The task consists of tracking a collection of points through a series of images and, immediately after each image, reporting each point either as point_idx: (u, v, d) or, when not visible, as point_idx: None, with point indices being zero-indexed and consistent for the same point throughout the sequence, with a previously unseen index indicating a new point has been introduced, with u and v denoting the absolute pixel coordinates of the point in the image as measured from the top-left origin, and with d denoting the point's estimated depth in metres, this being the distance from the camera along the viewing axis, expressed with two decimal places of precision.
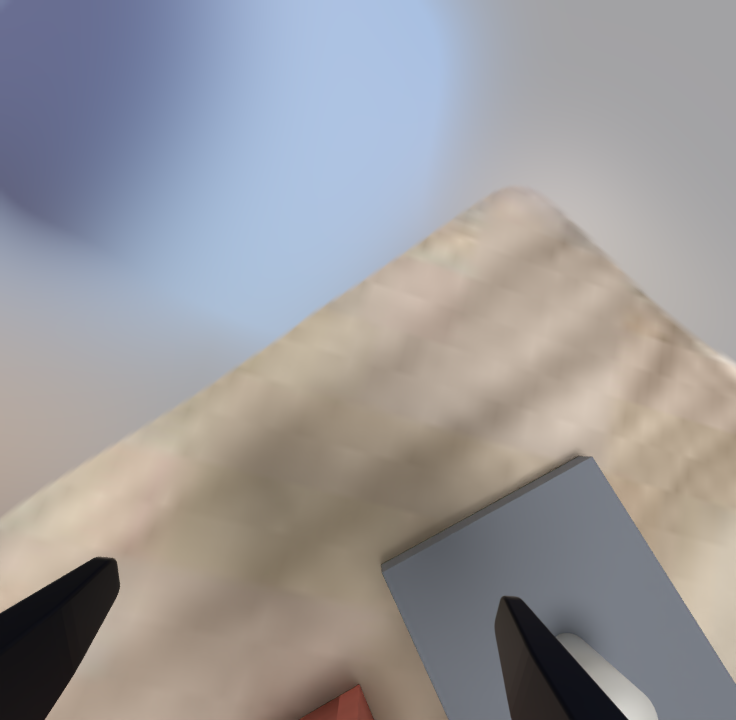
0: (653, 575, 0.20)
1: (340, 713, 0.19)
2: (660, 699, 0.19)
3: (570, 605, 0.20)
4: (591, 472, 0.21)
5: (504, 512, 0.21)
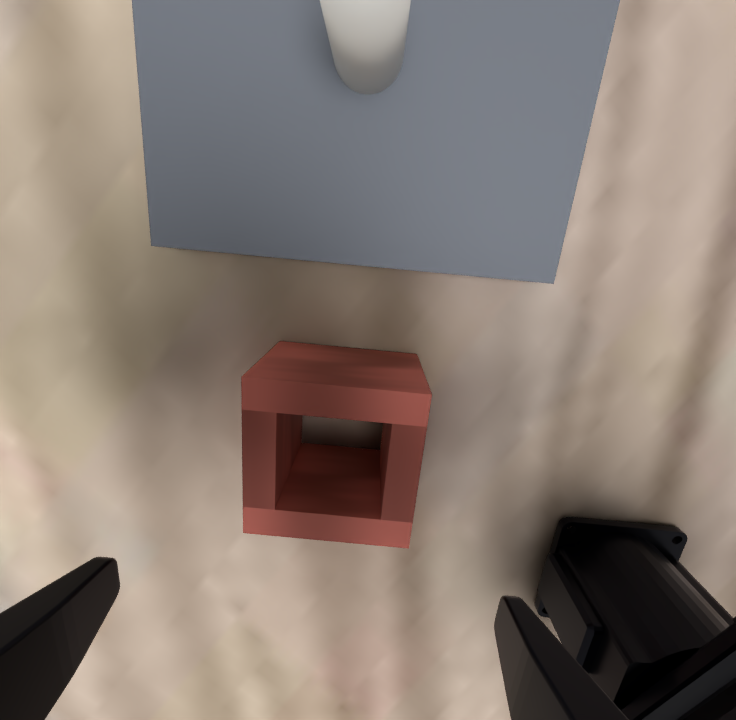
0: None
1: None
2: None
3: None
4: None
5: (142, 6, 0.12)
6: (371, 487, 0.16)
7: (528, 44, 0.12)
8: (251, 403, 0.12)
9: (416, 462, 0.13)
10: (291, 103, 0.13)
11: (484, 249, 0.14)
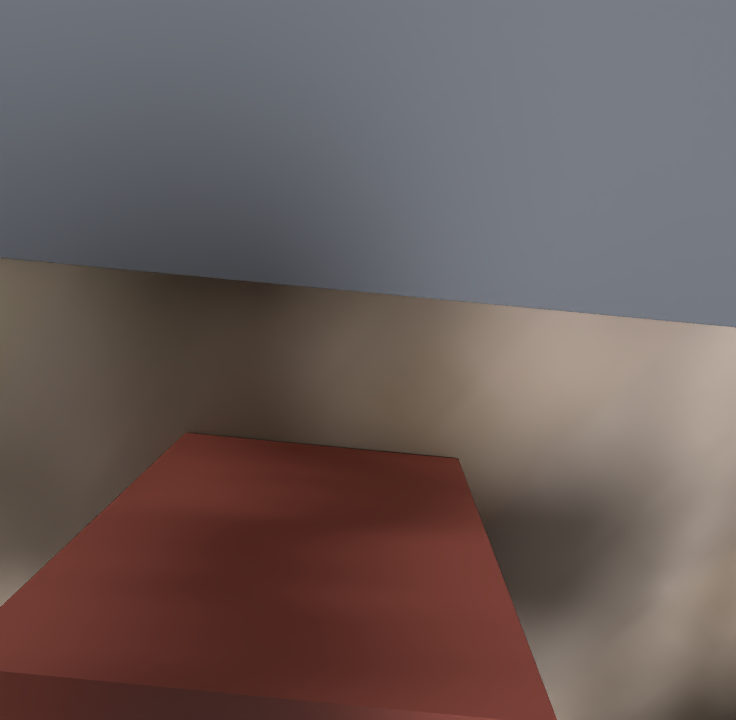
0: None
1: None
2: None
3: None
4: None
5: None
6: None
7: None
8: None
9: None
10: None
11: (646, 251, 0.06)
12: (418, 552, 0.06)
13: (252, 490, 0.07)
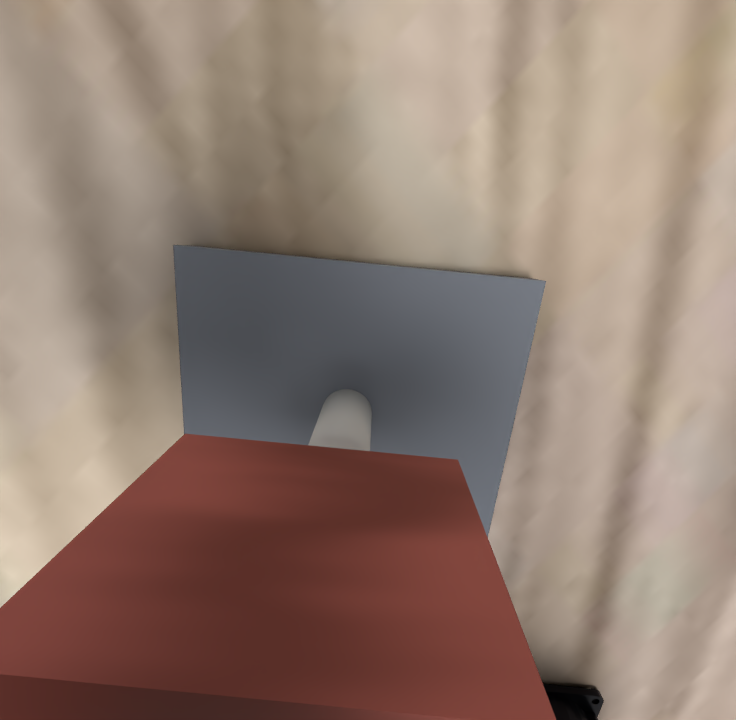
0: (328, 275, 0.16)
1: None
2: (427, 357, 0.17)
3: (306, 380, 0.17)
4: (190, 260, 0.16)
5: (188, 382, 0.17)
6: None
7: (459, 410, 0.17)
8: None
9: None
10: (292, 438, 0.18)
11: None
12: (418, 553, 0.06)
13: (252, 491, 0.07)
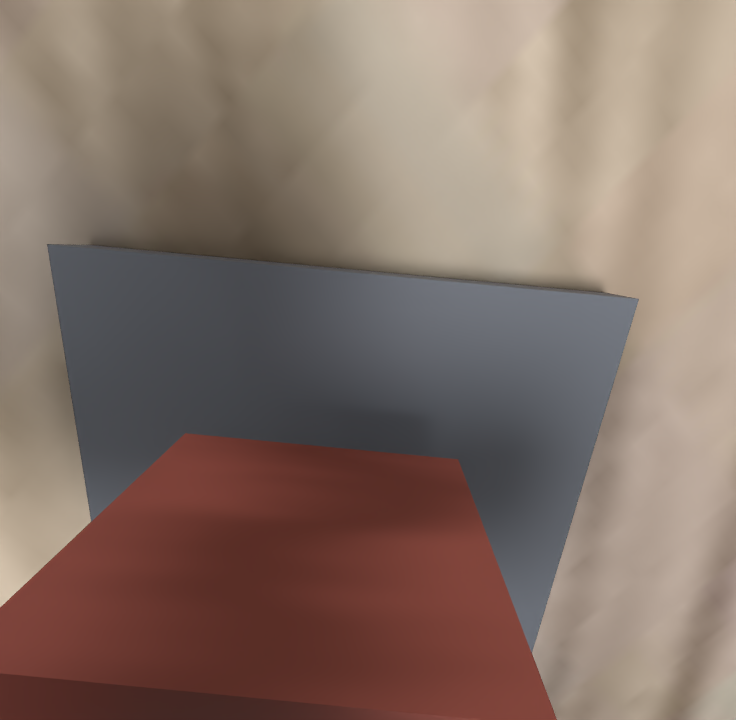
0: (294, 291, 0.10)
1: None
2: (449, 414, 0.11)
3: None
4: (77, 267, 0.10)
5: (90, 450, 0.12)
6: None
7: (495, 490, 0.12)
8: None
9: None
10: None
11: None
12: (418, 553, 0.06)
13: (252, 491, 0.07)
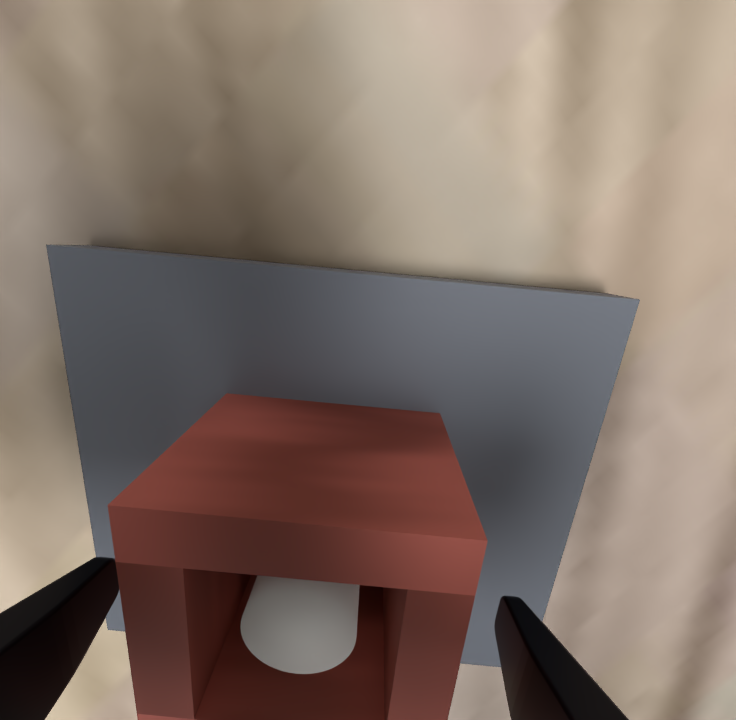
0: (293, 292, 0.10)
1: None
2: (449, 415, 0.11)
3: None
4: (76, 268, 0.10)
5: (89, 451, 0.12)
6: (369, 642, 0.09)
7: (495, 491, 0.12)
8: (132, 552, 0.06)
9: (452, 651, 0.07)
10: None
11: None
12: (405, 464, 0.08)
13: (284, 428, 0.09)
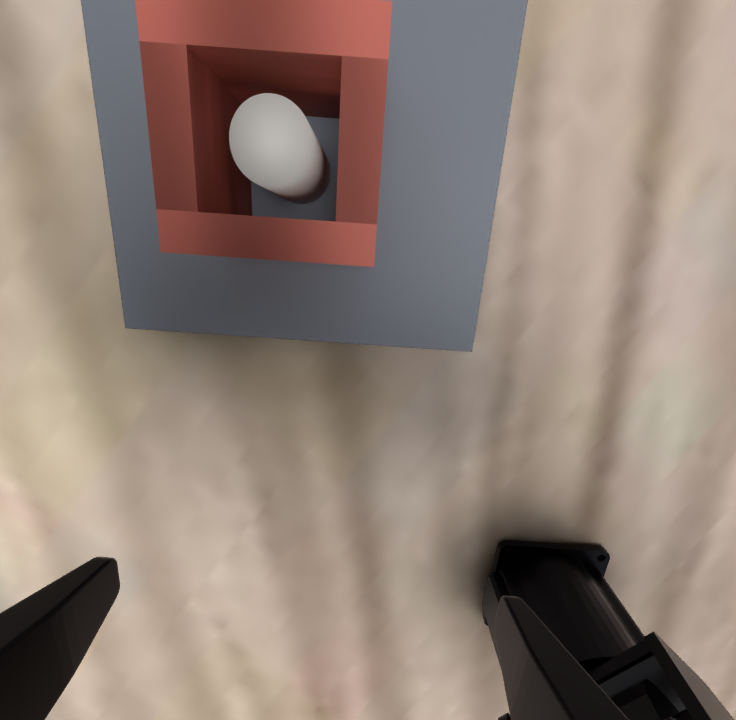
0: None
1: None
2: (393, 87, 0.14)
3: None
4: None
5: (108, 138, 0.14)
6: None
7: (434, 163, 0.15)
8: (151, 29, 0.09)
9: (377, 123, 0.10)
10: None
11: (410, 325, 0.17)
12: None
13: None
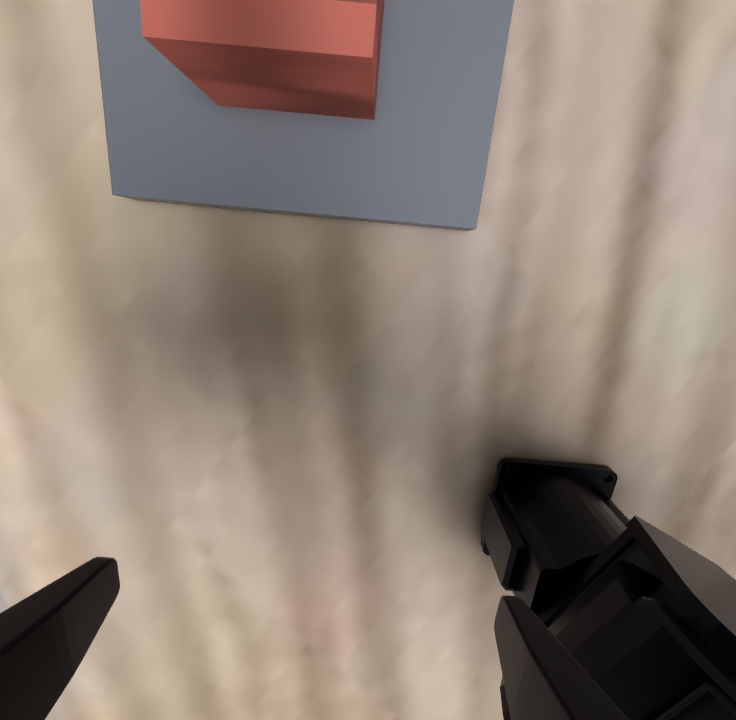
0: None
1: None
2: None
3: None
4: None
5: None
6: None
7: (441, 7, 0.14)
8: None
9: None
10: None
11: (412, 196, 0.16)
12: None
13: None
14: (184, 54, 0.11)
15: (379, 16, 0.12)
